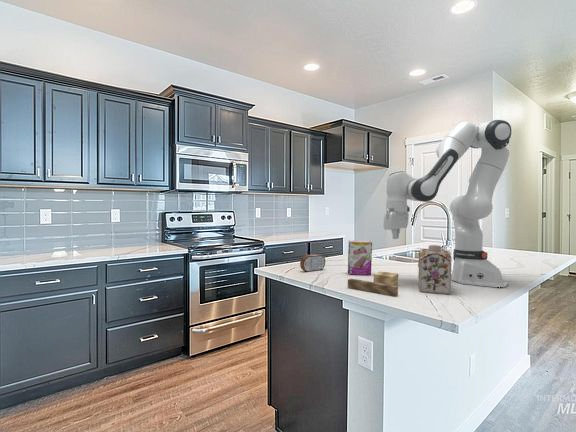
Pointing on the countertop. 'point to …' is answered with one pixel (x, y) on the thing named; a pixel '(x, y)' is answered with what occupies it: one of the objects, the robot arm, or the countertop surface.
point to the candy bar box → (359, 257)
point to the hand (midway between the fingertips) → (395, 238)
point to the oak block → (386, 278)
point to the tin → (312, 262)
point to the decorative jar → (434, 270)
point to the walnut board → (373, 287)
